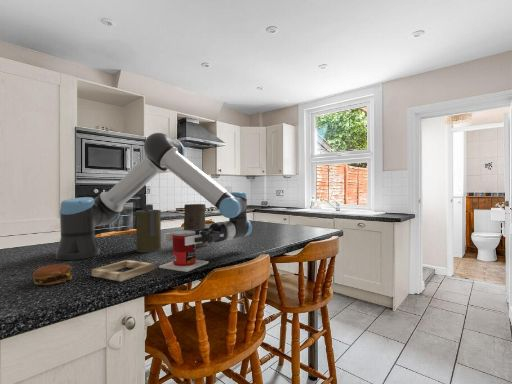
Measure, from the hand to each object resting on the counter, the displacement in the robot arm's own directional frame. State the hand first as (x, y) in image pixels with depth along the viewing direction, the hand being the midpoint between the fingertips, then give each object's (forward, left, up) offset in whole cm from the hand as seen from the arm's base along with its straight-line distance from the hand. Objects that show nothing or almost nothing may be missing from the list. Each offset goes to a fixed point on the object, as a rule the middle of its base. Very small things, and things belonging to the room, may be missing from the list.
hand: (174, 239), depth 96 cm
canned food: (+1, +4, -9) cm, 10 cm away
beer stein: (-18, +36, -10) cm, 41 cm away
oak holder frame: (-11, -11, -10) cm, 18 cm away
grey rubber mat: (+1, +4, -10) cm, 10 cm away
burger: (-23, -25, -10) cm, 36 cm away
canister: (-30, +18, -10) cm, 36 cm away
